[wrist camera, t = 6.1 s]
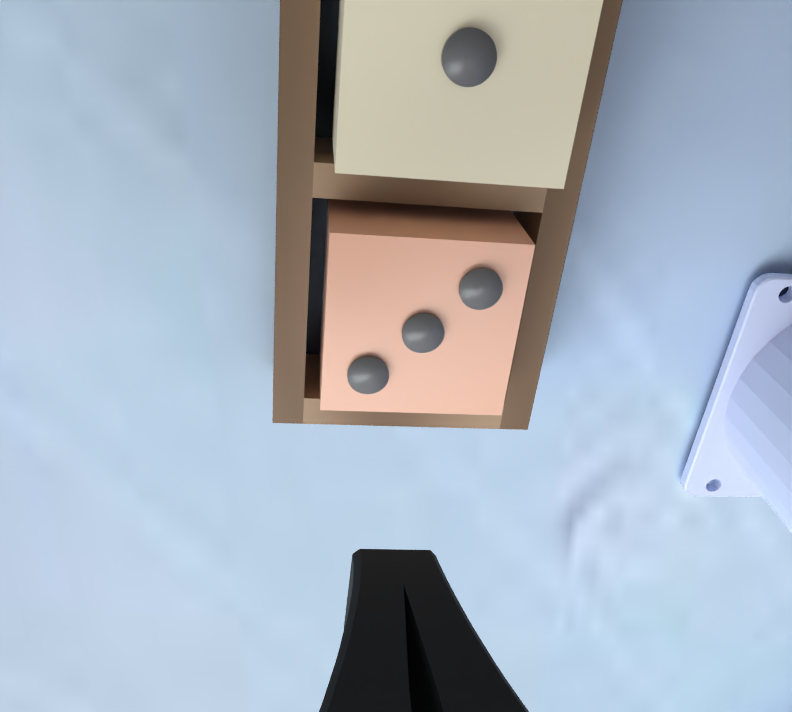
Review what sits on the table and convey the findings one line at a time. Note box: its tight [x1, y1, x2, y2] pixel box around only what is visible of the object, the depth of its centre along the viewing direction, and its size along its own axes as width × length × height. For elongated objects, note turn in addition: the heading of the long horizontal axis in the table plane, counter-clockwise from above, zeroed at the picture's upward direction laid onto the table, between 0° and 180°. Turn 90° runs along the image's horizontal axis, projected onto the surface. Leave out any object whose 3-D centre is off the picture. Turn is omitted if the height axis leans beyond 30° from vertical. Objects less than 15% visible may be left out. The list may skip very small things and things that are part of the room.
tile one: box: [332, 0, 603, 189], centre depth 15 cm, size 5×5×3 cm
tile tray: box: [273, 0, 623, 430], centre depth 16 cm, size 7×19×2 cm, turn 174°
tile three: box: [320, 199, 535, 415], centre depth 19 cm, size 5×5×3 cm
